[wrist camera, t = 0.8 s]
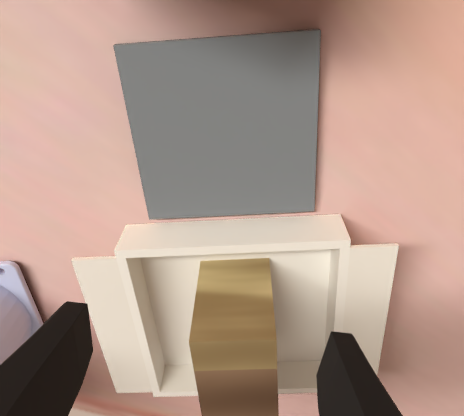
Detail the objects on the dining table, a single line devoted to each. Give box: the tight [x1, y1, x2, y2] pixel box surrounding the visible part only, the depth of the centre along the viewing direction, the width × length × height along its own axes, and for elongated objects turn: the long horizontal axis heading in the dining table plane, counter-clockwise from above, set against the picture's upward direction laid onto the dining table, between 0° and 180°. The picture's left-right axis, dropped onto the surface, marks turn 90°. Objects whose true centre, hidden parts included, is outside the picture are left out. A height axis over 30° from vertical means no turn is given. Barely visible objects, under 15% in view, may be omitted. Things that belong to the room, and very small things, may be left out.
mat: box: [114, 29, 321, 219], centre depth 20 cm, size 9×9×1 cm
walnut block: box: [189, 258, 278, 416], centre depth 23 cm, size 7×4×6 cm, turn 4°
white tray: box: [71, 214, 399, 397], centre depth 25 cm, size 17×12×2 cm
